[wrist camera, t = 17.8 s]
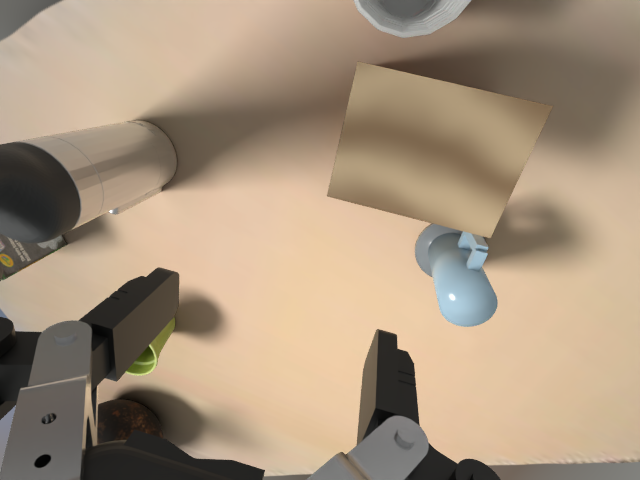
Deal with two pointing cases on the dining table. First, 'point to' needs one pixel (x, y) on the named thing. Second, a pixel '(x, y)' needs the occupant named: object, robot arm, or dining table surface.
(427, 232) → the coaster
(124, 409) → the glass bottle
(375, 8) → the plastic cup
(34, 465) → the robot arm
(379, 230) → the dining table surface
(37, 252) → the chalk box
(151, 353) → the plant pot
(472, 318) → the light blue piece
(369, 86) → the shelf
